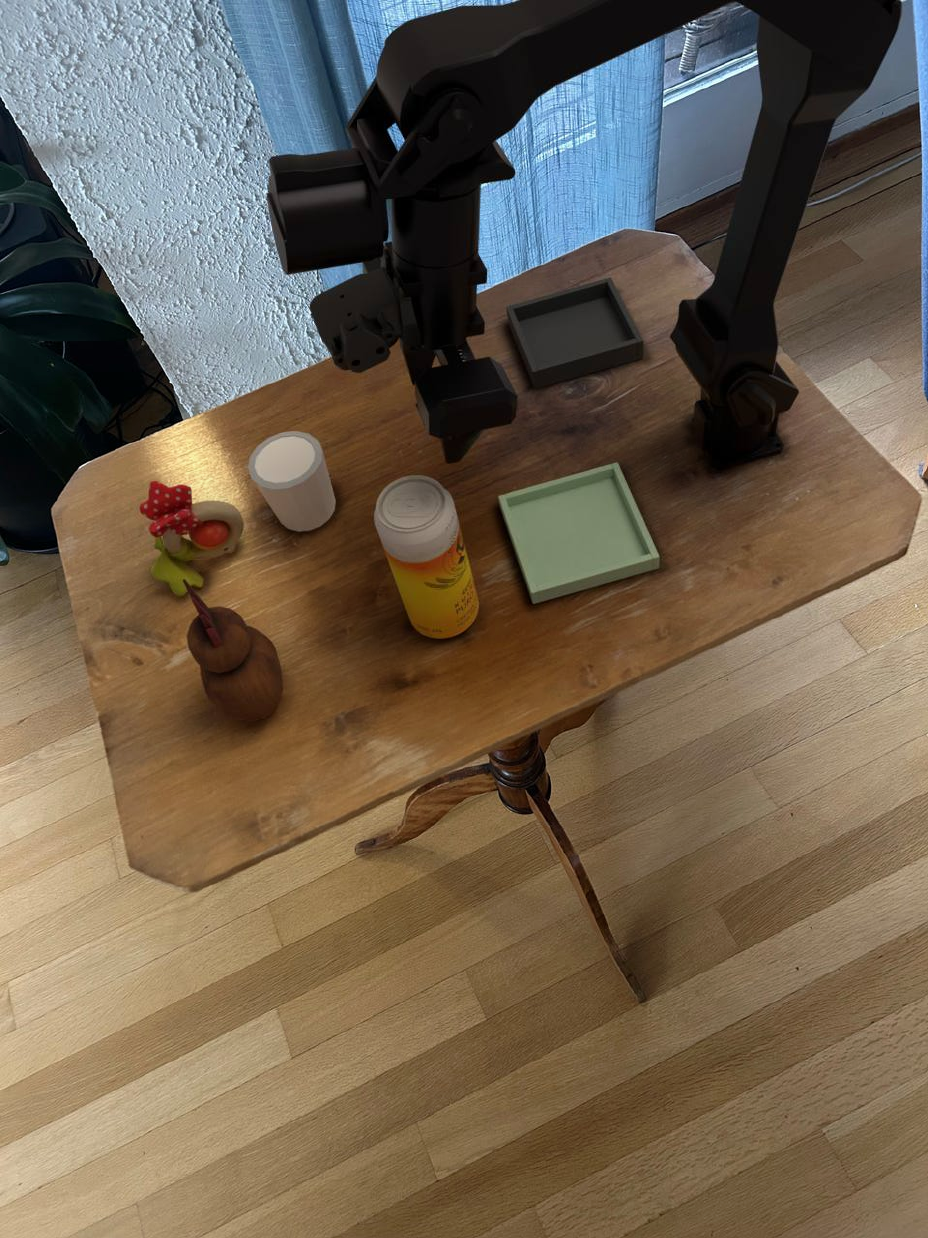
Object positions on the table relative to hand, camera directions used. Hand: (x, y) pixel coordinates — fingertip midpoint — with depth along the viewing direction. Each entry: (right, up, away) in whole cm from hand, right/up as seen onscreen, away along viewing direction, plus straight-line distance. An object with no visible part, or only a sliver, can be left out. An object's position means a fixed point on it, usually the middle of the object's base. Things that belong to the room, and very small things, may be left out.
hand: (435, 421), depth 77 cm
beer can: (+1, -15, +8) cm, 17 cm away
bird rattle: (-22, -10, +15) cm, 28 cm away
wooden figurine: (-15, -22, +6) cm, 27 cm away
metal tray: (+13, +13, +23) cm, 30 cm away
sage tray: (+12, -8, +10) cm, 18 cm away
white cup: (-13, -5, +17) cm, 21 cm away
